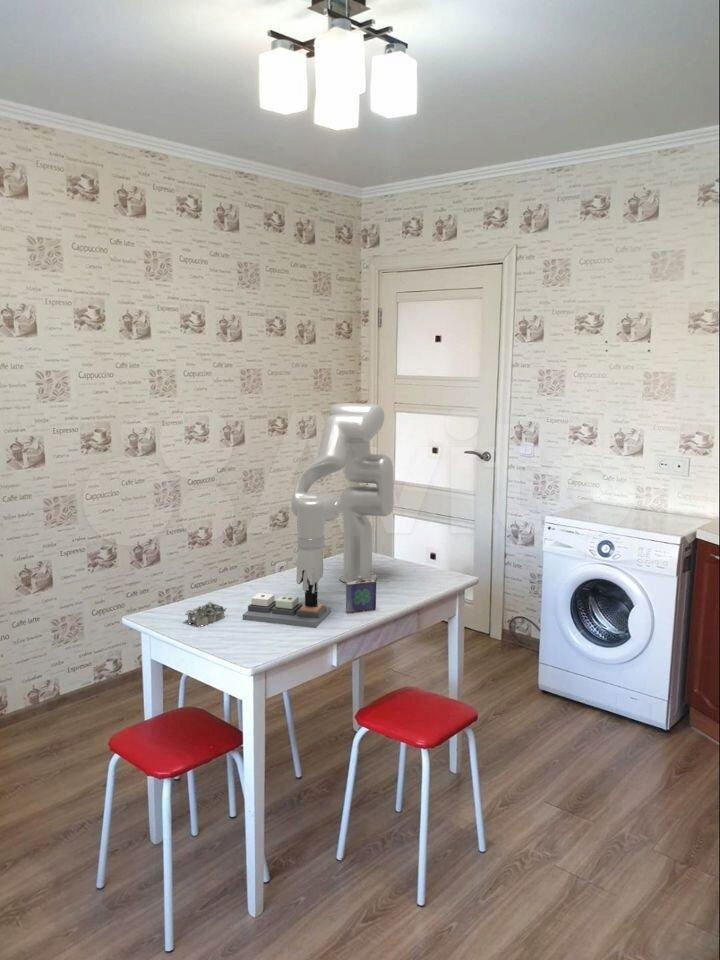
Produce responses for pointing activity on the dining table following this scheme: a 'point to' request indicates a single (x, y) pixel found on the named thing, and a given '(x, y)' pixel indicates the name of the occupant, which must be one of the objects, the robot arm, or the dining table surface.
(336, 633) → the dining table surface
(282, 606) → the tile
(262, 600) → the tile
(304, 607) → the tile
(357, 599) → the flask
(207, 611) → the egg carton
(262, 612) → the keypad board
